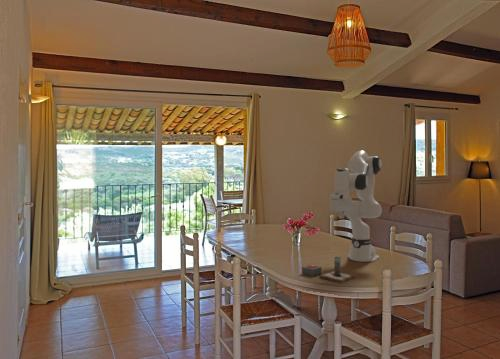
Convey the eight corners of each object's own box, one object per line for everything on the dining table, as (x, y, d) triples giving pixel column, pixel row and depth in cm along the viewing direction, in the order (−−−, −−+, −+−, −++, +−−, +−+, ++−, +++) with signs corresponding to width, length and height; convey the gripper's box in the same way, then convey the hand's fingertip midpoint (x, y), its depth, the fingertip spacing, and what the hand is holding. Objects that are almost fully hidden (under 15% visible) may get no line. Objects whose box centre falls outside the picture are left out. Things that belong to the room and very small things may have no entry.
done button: (310, 269, 251) (310, 264, 251) (316, 270, 249) (316, 265, 248) (306, 270, 248) (307, 265, 248) (312, 272, 246) (312, 266, 246)
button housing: (310, 271, 254) (310, 264, 254) (321, 273, 249) (321, 266, 249) (302, 273, 248) (302, 266, 248) (313, 276, 243) (313, 269, 243)
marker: (336, 273, 243) (336, 256, 242) (341, 275, 241) (341, 257, 240) (332, 275, 240) (333, 257, 240) (338, 276, 238) (338, 258, 238)
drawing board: (332, 272, 250) (332, 270, 250) (354, 277, 241) (354, 275, 241) (319, 277, 240) (319, 275, 240) (341, 283, 231) (341, 280, 231)
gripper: (346, 193, 266) (345, 215, 266) (328, 195, 251) (327, 219, 251) (355, 194, 261) (354, 217, 262) (337, 196, 246) (336, 220, 247)
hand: (341, 218), depth 257 cm, fingers closed
